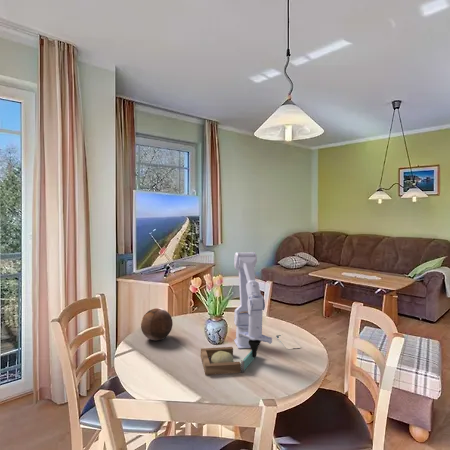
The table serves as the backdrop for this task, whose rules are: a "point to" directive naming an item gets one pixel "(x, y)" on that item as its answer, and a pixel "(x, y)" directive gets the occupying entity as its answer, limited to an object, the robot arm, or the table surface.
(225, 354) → the sea urchin shell
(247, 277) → the robot arm
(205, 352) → the bay
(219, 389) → the table surface
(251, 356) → the teal plank
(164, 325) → the wooden sphere
